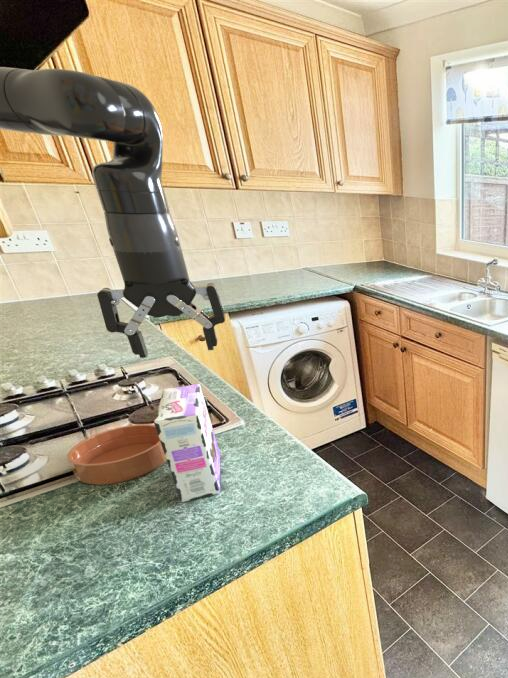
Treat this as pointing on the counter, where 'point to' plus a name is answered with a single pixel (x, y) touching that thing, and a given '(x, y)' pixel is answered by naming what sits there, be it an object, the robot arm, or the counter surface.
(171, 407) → the candy box
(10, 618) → the counter surface
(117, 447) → the pan
